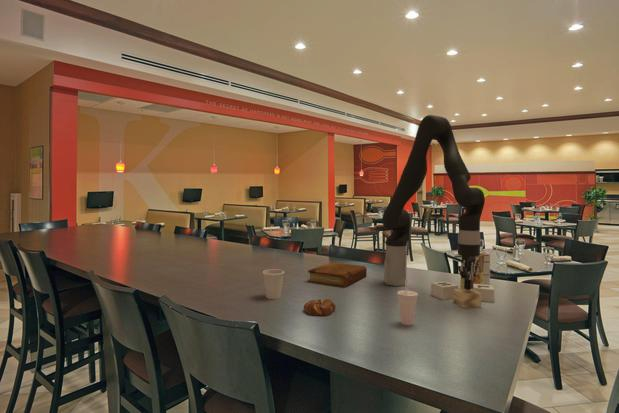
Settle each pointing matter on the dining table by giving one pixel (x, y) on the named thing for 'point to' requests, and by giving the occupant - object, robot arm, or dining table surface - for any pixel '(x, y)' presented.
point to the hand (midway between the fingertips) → (467, 289)
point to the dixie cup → (273, 283)
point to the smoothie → (407, 305)
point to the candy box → (477, 272)
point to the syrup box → (486, 268)
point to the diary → (337, 274)
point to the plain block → (467, 298)
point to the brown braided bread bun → (319, 307)
